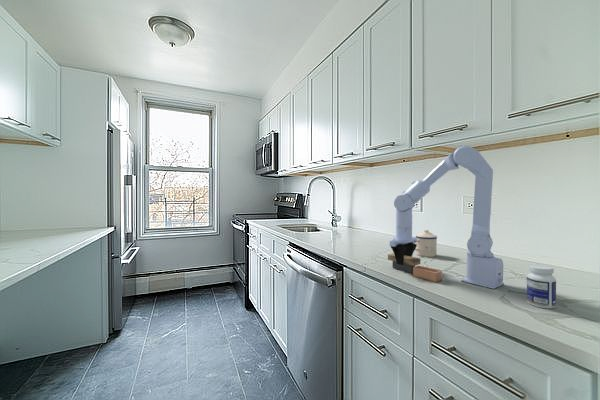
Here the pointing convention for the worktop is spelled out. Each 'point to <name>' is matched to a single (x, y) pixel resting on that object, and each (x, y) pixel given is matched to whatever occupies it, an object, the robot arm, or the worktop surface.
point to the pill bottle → (541, 287)
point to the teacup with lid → (426, 244)
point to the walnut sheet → (406, 259)
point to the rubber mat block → (403, 267)
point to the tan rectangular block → (427, 274)
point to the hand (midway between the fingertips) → (403, 263)
